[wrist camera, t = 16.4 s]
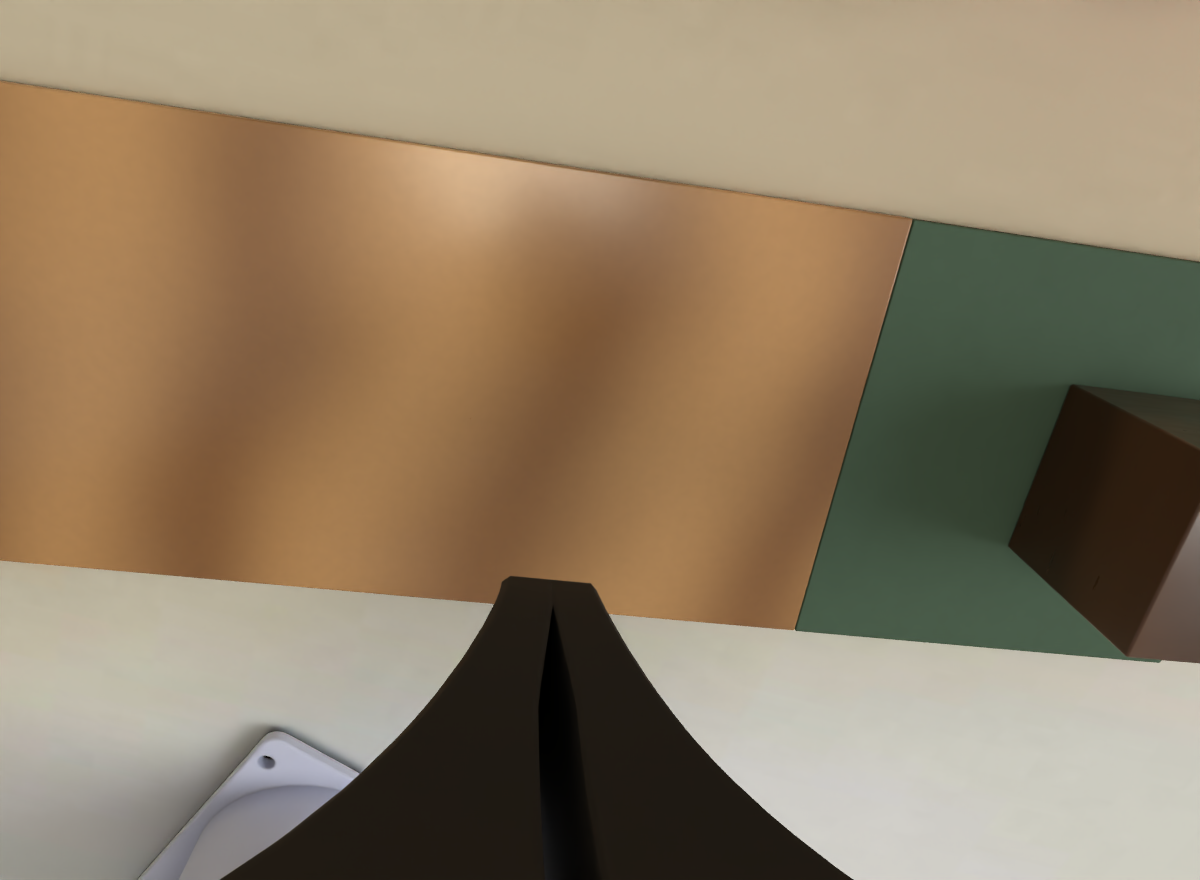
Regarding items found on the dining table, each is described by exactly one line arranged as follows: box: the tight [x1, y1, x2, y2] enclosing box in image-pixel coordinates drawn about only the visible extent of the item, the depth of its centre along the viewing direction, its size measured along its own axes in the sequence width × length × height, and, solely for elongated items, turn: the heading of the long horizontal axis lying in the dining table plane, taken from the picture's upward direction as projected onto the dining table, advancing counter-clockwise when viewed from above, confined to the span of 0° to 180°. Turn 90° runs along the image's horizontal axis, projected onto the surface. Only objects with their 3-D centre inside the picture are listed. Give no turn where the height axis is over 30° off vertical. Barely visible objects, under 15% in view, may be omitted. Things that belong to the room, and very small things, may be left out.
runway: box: [0, 80, 912, 630], centre depth 19 cm, size 32×12×1 cm, turn 82°
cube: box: [1008, 384, 1200, 663], centre depth 19 cm, size 5×5×5 cm
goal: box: [795, 219, 1200, 663], centre depth 22 cm, size 12×12×1 cm
